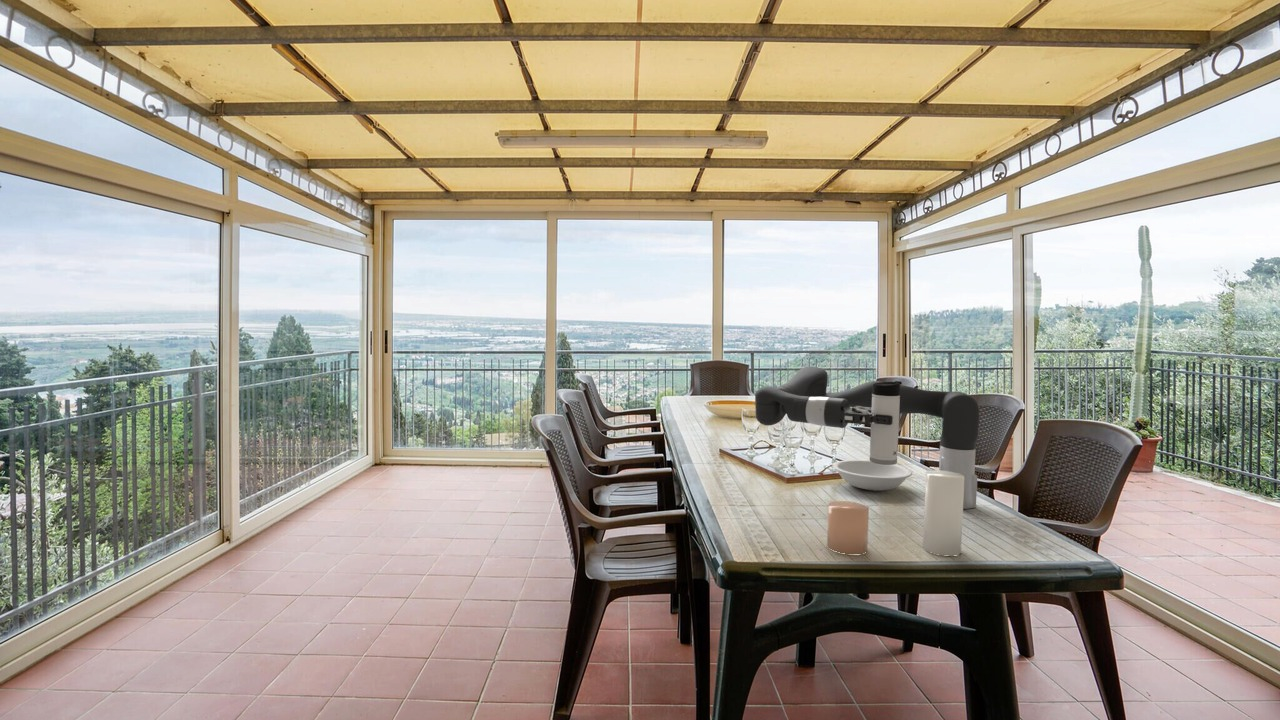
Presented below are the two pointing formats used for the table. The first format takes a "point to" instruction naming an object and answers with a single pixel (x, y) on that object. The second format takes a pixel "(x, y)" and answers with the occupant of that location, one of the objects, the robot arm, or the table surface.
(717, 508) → the table surface
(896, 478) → the soup bowl
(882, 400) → the travel mug
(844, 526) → the peach rounded cylinder
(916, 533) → the table surface
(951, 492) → the tall white cylinder
